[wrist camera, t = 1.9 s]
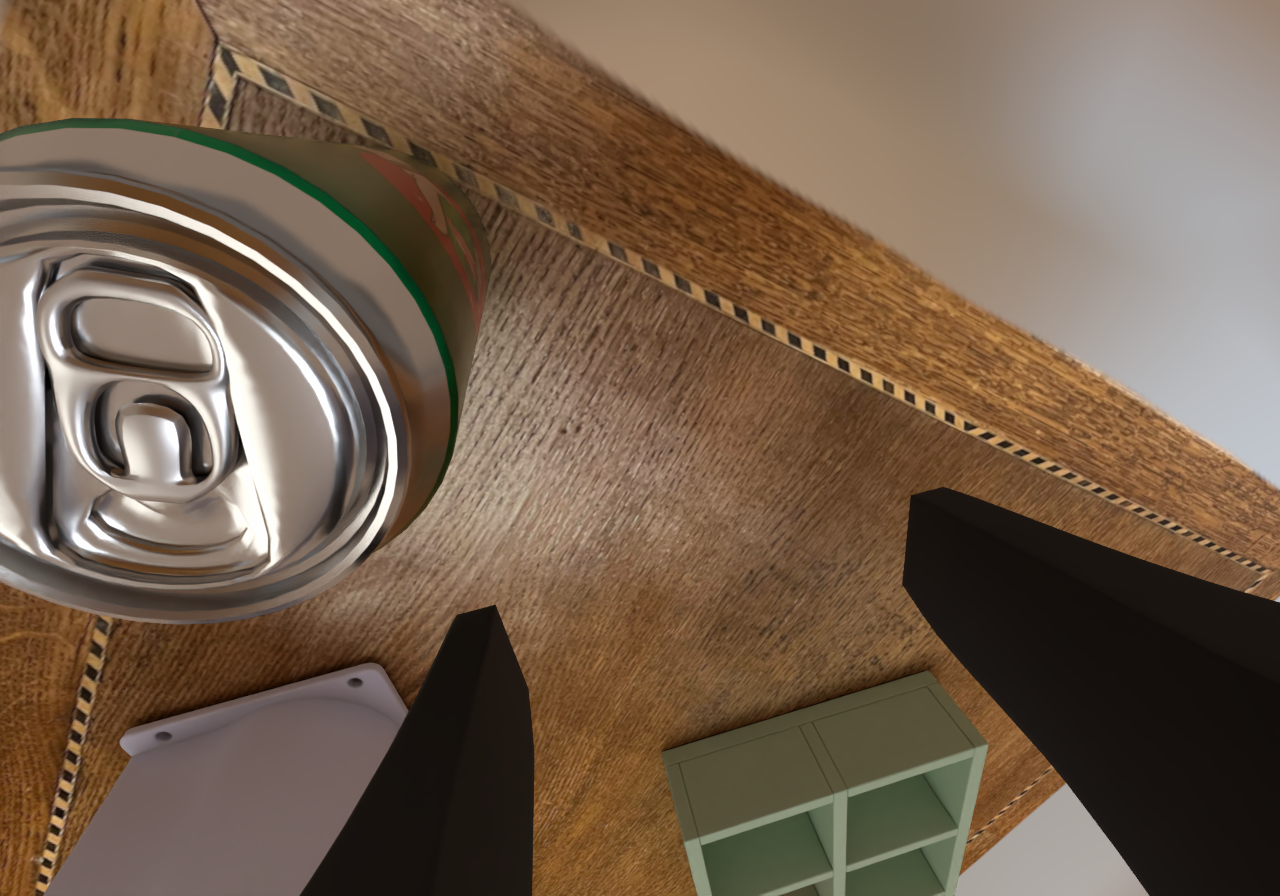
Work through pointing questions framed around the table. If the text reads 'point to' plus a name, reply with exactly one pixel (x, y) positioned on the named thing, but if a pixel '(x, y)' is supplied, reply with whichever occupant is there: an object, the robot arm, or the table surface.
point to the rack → (833, 797)
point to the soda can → (222, 362)
